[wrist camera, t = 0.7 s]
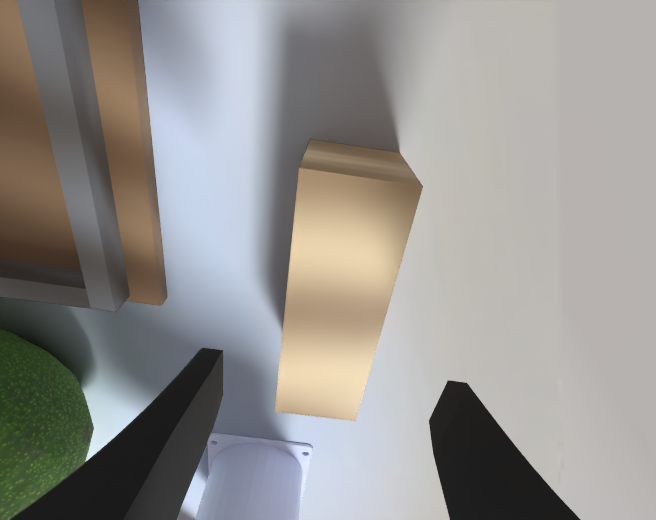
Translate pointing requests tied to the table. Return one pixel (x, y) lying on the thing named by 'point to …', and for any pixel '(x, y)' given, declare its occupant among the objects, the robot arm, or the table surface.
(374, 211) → the wooden block
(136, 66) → the channel
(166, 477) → the robot arm
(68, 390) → the fruit
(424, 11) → the table surface
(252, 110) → the table surface
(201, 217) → the table surface
